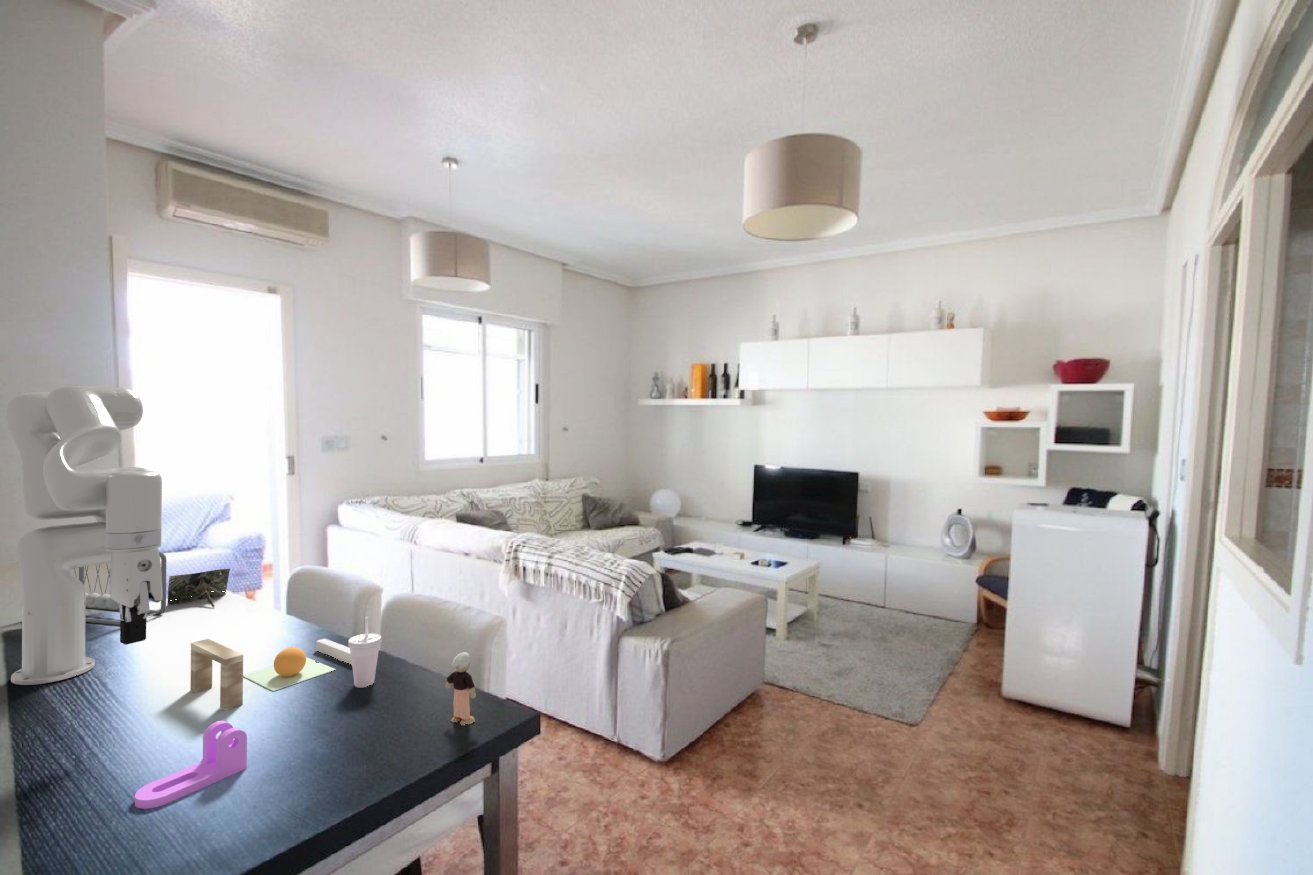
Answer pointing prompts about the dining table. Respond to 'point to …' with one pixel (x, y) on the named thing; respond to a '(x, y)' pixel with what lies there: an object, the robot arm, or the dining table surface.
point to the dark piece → (197, 586)
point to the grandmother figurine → (461, 689)
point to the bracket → (200, 767)
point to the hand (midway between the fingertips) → (133, 641)
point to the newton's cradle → (108, 604)
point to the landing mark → (276, 681)
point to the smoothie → (364, 656)
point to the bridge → (229, 673)
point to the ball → (289, 662)
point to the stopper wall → (334, 650)
